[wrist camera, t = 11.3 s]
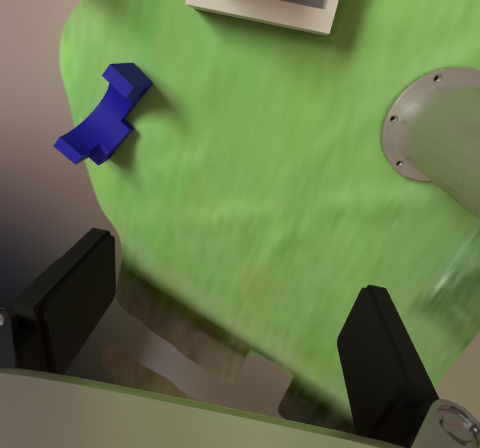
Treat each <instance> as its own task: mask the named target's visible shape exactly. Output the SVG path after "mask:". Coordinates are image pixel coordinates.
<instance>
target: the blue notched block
mask: <svg viewBox="0 0 480 448" xmlns="http://www.w3.org/2000/svg"><path fill="white" fill-rule="evenodd" d="M102 76H103V77H104V78H105V79H106V80H107V81H108V82H109V87H108V90H107V92H106V94H105V96H104V97H103V99H102V100H101V102H100V103H99V105H98V106H97V107H96V108H95V110H94V111H93V112H92V113H91V114H90V115H89V116H88V117H87V118H86V119H85V120H84V121H83V122H82V123H81V124H79V125H78V126H77V127H76V128H74V129H73V130H71V131H70V132H68V133H67V134H65V135H63V136H61V137H59V139H58V140H57V142H56V143H55V144H54V147H55V148H56V149H57V150H59V151H60V152H61V153H62V154H63V155H65V156H66V157H67V158H68V159H70V160H71V161H72V162H73V163H74V164H77V163H79V162H81V161H83V160H85V159H86V158H88V157H89V158H90V159H91V160H92V161H94V162H95V163H96V164H97V165H98V166H99V165H100V164H102V163H104V162H105V161H107V160H108V159H109V158H110V157H111V156H112V155H113V153H114V152H115V151H116V150H117V148H118V147H119V146H120V145H121V144H122V142H123V141H124V140H125V139H126V137H127V136H128V135H129V134H130V132H131V131H132V130H133V129H134V127H133V126H132V125H130V124H129V123H128V122H127V121H126V120H125V118H126V117H127V116H128V114H129V113H130V112H131V111H132V109H133V108H134V107H135V105H136V104H137V103H138V102H139V100H140V99H141V98H142V96H143V95H144V94H145V93H146V91H147V90H148V89H149V88H150V86H151V85H152V84H153V82H152V81H151V80H150V79H149V78H148V77H147V76H146V75H145V74H144V73H143V72H142V71H141V70H140V69H139V68H138V67H137V66H136V65H135V64H134V63H119V64H110V65H109V66H108V68H107V69H106V70H105V72H104V73H103V75H102Z"/></svg>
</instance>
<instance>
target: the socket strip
mask: <svg viewBox="0 0 480 448" xmlns="http://www.w3.org/2000/svg"><path fill="white" fill-rule="evenodd" d="M338 1H339V0H186V5H188V6H190V7H192V8H193V9H195V10H200V11H205V12H210V13H215V14H219V15H224V16H229V17H234V18H239V19H244V20H248V21H253V22H258V23H263V24H268V25H273V26H278V27H282V28H287V29H292V30H297V31H302V32H307V33H311V34H316V35H321V36H325V35H328V34H330V30H331V27H332V23H333V19H334V16H335V12H336V8H337V5H338Z"/></svg>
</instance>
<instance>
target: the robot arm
mask: <svg viewBox="0 0 480 448" xmlns="http://www.w3.org/2000/svg"><path fill="white" fill-rule="evenodd" d="M435 76H436V77H437V78H436V80H434V77H435ZM392 116H393V117H394V118H393V119H392V120H390V118H391V117H392ZM381 146H382V151H383V153H384V156H385V158H386V159H387V161H388V162H389V164H390V165H391V166H392V167H393V168H394V169H395V170H396V171H397V172H399V173H400V174H402V175H403V176H405V177H408V178H410V179H414V180H418V181H432V182H434V183H435V184H436V185H437V186H439V187H440V188H441V189H442V190H444V191H445V192H446V193H447V194H449V195H450V196H451V197H452V198H454V199H455V200H456V201H457V202H459V203H460V204H461V205H462V206H464V207H465V208H466V209H467V210H469V211H470V212H471V213H473V214H474V215H475V216H476V217H478V218H479V219H480V71H479V70H476V69H473V68H467V67H446V68H441V69H437V70H434V71H431V72H429V73H426V74H424V75H422V76H421V77H419V78H417V79H416V80H414V81H413V82H411V83H410V84H409V85H408V86H406V87H405V88H404V89H403V90H402V91H401V92H400V93H399V94H398V96H397V97H396V98H395V99H394V101H393V102H392V104H391V105H390V107H389V108H388V110H387V113H386V115H385V117H384V120H383V124H382V128H381ZM398 161H399V163H398V164H396V163H397V162H398ZM115 293H116V278H115V238H114V236H111V235H110V232H109V231H106V230H101V229H96V228H92V229H91V230H90V231H89V232H88V233H86V234H85V236H83V237H82V238H81V239H80V240H79V241H78V242H77V243H76V244H75V245H74V246H73V247H72V248H71V249H70V250H69V251H67V252H66V253H65V254H64V255H63V256H62V257H61V258H59V259H57V260H56V261H55V262H54V263H52V264H51V265H50V266H49V267H48V268H47V269H46V270H45V271H44V272H43V273H42V274H41V275H40V276H39V277H38V278H36V279H35V280H34V281H33V282H32V283H31V284H30V285H29V286H28V287H27V288H26V289H25V290H24V291H23V292H22V293H20V295H18V296H17V297H16V298H15V299H14V300H13V301H12V302H11V303H10V304H9V305H8V306H7V307H6V308H4V309H1V308H0V448H480V423H479V421H477V419H476V418H475V417H474V416H473V415H472V414H471V413H470V412H468V411H467V410H466V409H465V408H463V407H462V406H460V405H458V404H457V403H454V402H452V401H449V400H444V399H439V397H438V395H437V393H436V391H435V389H434V387H433V384H432V382H431V380H430V378H429V376H428V374H427V372H426V370H425V368H424V366H423V364H422V362H421V360H420V357H419V355H418V353H417V351H416V349H415V347H414V345H413V343H412V341H411V339H410V337H409V335H408V333H407V331H406V329H405V326H404V324H403V322H402V320H401V318H400V316H399V314H398V312H397V310H396V308H395V306H394V304H393V301H392V299H391V297H390V295H389V293H388V291H387V289H386V288H383V287H378V286H373V285H368V286H367V287H366V288H362V289H361V291H360V293H359V295H358V297H357V299H356V301H355V303H354V305H353V307H352V309H351V311H350V313H349V316H348V318H347V320H346V322H345V324H344V326H343V328H342V330H341V332H340V334H339V336H338V340H337V347H338V352H339V356H340V361H341V366H342V370H343V375H344V379H345V384H346V389H347V393H348V398H349V403H350V407H351V412H352V416H353V421H354V426H355V430H356V435H354V434H349V433H345V432H341V431H336V430H332V429H327V428H322V427H317V426H313V425H308V424H303V423H299V422H294V421H289V420H284V419H279V418H274V417H270V416H265V415H261V414H256V413H251V412H246V411H241V410H236V409H231V408H227V407H222V406H217V405H212V404H207V403H202V402H198V401H193V400H188V399H183V398H178V397H173V396H168V395H163V394H158V393H153V392H148V391H143V390H138V389H133V388H128V387H123V386H118V385H113V384H108V383H103V382H98V381H93V380H87V379H82V378H76V377H71V376H65V375H64V374H65V372H66V370H67V369H68V367H69V366H70V364H71V363H72V361H73V360H74V358H75V357H76V355H77V354H78V352H79V351H80V349H81V348H82V346H83V345H84V343H85V342H86V340H87V339H88V337H89V336H90V334H91V333H92V331H93V330H94V328H95V326H96V325H97V324H98V322H99V321H100V319H101V317H102V316H103V314H104V313H105V311H106V310H107V308H108V307H109V305H110V304H111V302H112V301H113V299H114V297H115Z"/></svg>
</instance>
